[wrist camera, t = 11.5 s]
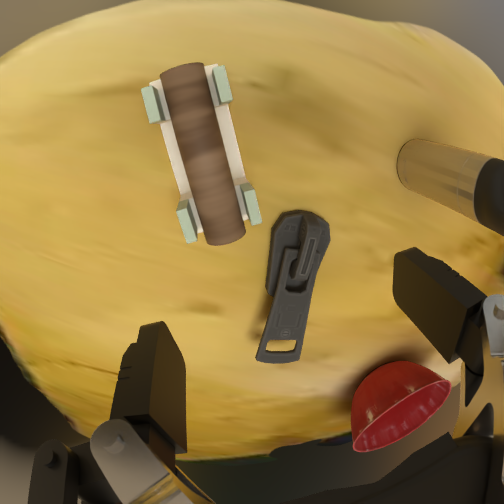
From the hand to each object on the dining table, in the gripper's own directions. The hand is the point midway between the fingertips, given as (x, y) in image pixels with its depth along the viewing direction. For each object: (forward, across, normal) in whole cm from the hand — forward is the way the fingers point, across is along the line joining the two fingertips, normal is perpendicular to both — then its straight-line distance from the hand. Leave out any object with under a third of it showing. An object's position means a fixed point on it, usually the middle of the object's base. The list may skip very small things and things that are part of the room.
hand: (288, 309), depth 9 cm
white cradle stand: (+32, +2, -3) cm, 32 cm away
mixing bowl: (+32, -26, +61) cm, 74 cm away
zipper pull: (+32, -5, +21) cm, 39 cm away
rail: (+27, +2, -3) cm, 27 cm away
